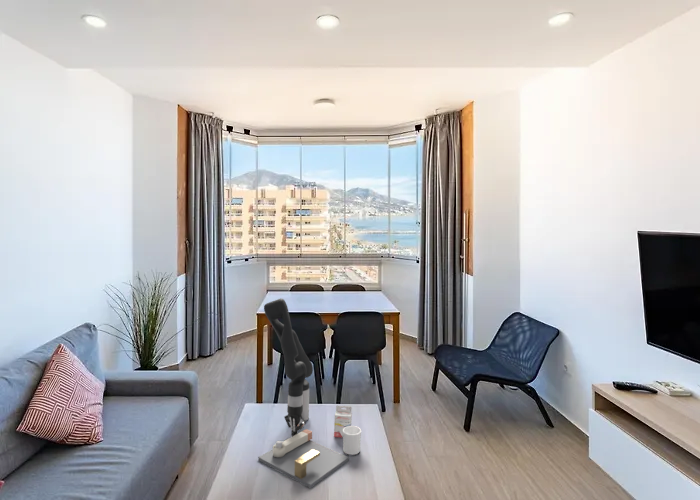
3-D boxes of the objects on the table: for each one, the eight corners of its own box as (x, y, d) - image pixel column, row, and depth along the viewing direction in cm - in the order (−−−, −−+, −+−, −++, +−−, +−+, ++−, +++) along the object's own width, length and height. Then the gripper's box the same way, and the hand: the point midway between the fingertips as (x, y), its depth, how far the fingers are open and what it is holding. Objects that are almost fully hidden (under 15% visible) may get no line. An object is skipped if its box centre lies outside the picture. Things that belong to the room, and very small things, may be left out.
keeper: (294, 478, 174) (294, 460, 173) (312, 466, 183) (313, 449, 183) (301, 482, 171) (301, 463, 171) (319, 469, 181) (319, 452, 180)
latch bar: (278, 459, 185) (278, 447, 185) (270, 454, 188) (270, 442, 188) (313, 439, 203) (313, 428, 203) (305, 435, 206) (305, 424, 206)
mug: (359, 457, 191) (359, 436, 191) (340, 455, 193) (340, 433, 192) (363, 445, 202) (363, 425, 201) (345, 443, 204) (345, 423, 203)
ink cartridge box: (333, 437, 209) (334, 409, 208) (335, 432, 214) (335, 405, 213) (350, 438, 208) (351, 410, 207) (351, 433, 213) (352, 406, 212)
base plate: (258, 460, 187) (258, 457, 187) (298, 437, 208) (298, 434, 208) (310, 488, 168) (310, 484, 168) (348, 460, 189) (348, 457, 188)
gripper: (280, 401, 202) (279, 435, 203) (299, 409, 194) (298, 445, 195) (291, 396, 208) (290, 430, 209) (310, 404, 200) (309, 438, 201)
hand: (294, 437), depth 202 cm, fingers closed
